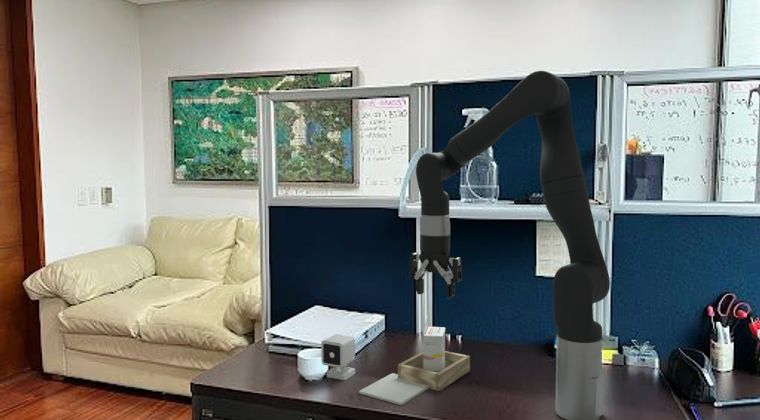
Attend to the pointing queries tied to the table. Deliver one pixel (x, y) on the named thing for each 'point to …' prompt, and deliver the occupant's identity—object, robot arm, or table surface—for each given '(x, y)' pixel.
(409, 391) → the mat
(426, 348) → the ink box
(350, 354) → the security camera
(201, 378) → the table surface
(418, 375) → the wooden frame
